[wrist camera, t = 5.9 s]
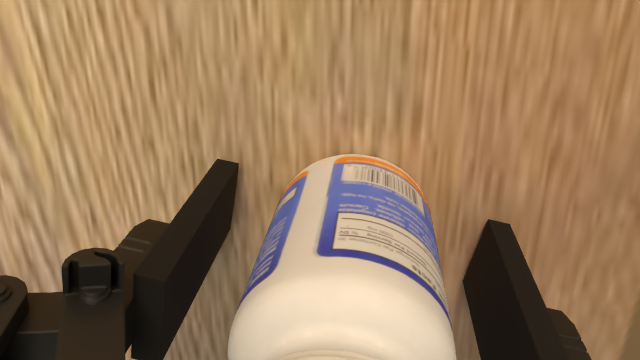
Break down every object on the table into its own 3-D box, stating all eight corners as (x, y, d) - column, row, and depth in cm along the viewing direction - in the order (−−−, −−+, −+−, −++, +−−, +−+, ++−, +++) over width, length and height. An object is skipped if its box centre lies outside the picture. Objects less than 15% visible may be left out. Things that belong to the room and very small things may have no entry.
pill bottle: (319, 295, 20) (268, 585, 11) (252, 181, 18) (125, 422, 9) (453, 253, 18) (519, 551, 9) (396, 123, 16) (413, 345, 7)
